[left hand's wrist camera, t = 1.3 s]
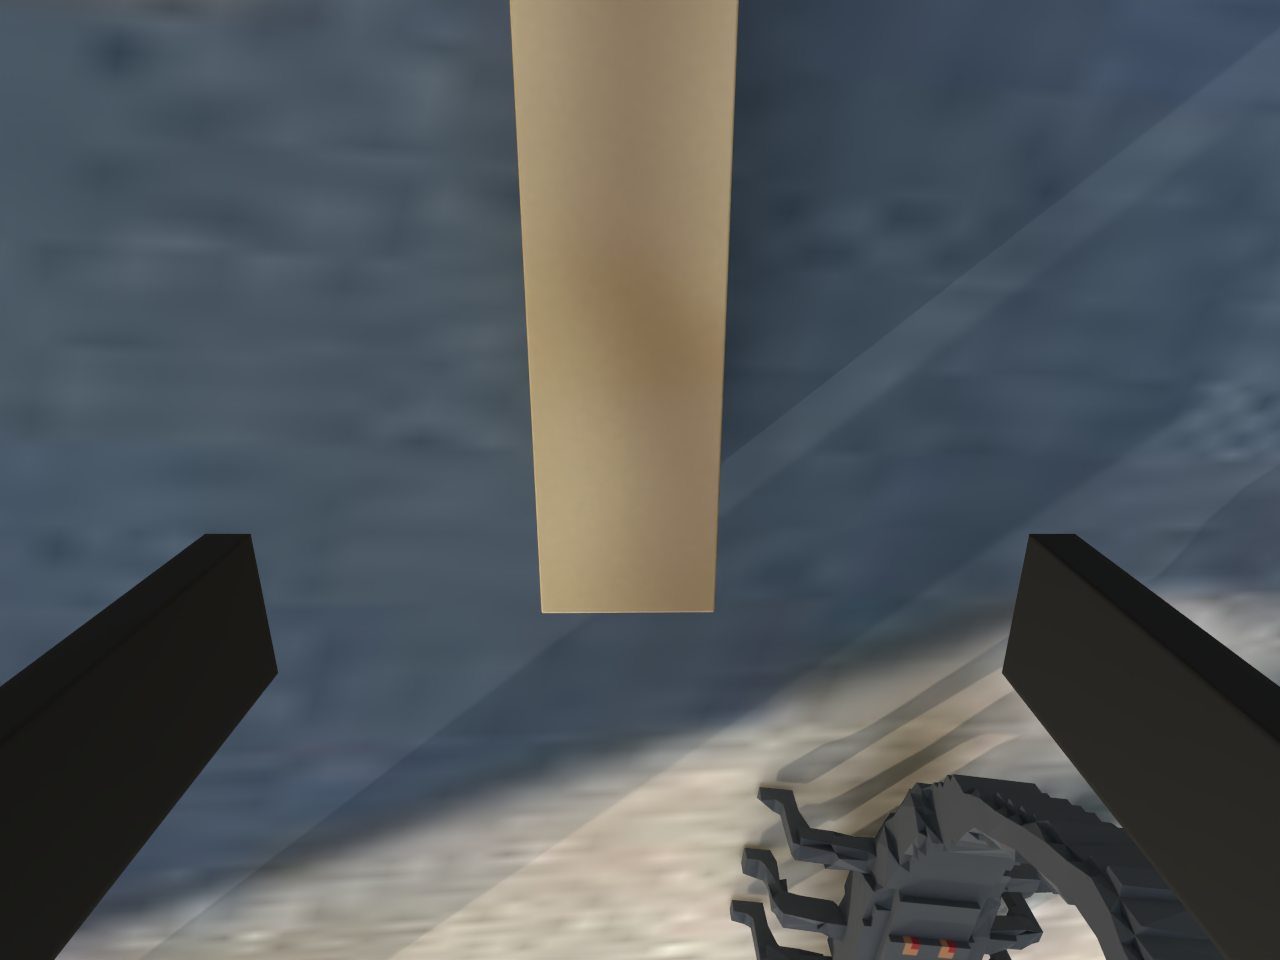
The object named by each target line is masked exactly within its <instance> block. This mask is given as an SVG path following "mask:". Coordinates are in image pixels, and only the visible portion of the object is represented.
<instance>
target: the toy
mask: <svg viewBox="0 0 1280 960" xmlns="http://www.w3.org/2000/svg"><path fill="white" fill-rule="evenodd" d="M757 798H758V799H759V800H761V801H762V802H763V803H764V804H765V805H766V806H768V807H769V808H770V809H771V810H772V811H774V812H776V813H778V814H780V815H781V819H782V822H783V826H784V830H785V833H786V837H787V840H788V844H789V847H790V851H791V854H792V856H793V857H794V859H795V860H799V861H807V862H814V863H822V864H824V866H825V869H840V870H850V872H849V875H848V878H847V880H846V883H845V895H844V897H843V899H842V901H841V903H840V905H839V907H838V906H837V905H836V904H835V903H834V902H833V901H829V900H823V899H817V898H811V897H805V896H799V895H796V894H792V893H789V892H788V891H787V882H786V879H783V880H780V879H779V873H778V867H777V861H776V860H775V858H774V856H773V855H772V853H771V851H770V850H760V849H750V848H745V849H744V853H743V857H742V861H741V864H742V870H743V873H744V874H746V875H749V876H752V877H755V878H757V879H760V880H763V881H764V883H765V885H766V886H767V888H768V890H769V897H770V904H771V911H772V912H774V913H775V915H776V916H777V918H778V920H779V921H780V923H781V925H782V927H783V928H791V929H798V930H806V931H813V932H821V933H824V934H825V935H827V936H829V937H828V944H829V948H830V951H831V955H832V957H830V956H823V954H819V953H815V952H810V951H806V950H801V949H796V948H789V947H782V946H779V945H778V944H777V943H776V941H775V939H774V937H773V935H772V933H771V931H770V929H769V927H768V924H767V920H766V916H765V911H764V907H763V903H758V902H747V901H737V900H732V902H731V906H730V914H731V920H732V921H736V922H739V923H743V924H745V925H747V926H749V927H750V928H751V931H752V936H753V941H754V947H755V952H756V957H757V960H982V958H983V955H984V954H989V955H990V959H989V960H1011V958H1010V956H1009V954H1008V952H1007V950H1006V949H1018V950H1022V949H1023V948H1025V947H1027V946H1029V945H1030V944H1033V943H1037V942H1039V940H1040V938H1041V936H1042V934H1043V931H1042V929H1041V928H1040V926H1039V924H1038V922H1037V920H1036V919H1035V917H1034V915H1033V913H1032V912H1031V910H1030V908H1029V906H1028V905H1027V903H1026V901H1025V898H1028V897H1031V896H1032V895H1033V893H1039V892H1052V893H1053V894H1059V895H1060V896H1061V897H1062V898H1063V899H1064V900H1065V901H1066V902H1067V904H1070V905H1075V906H1076V907H1077V909H1078V910H1079V911H1080V913H1081V914H1082V916H1083V917H1084V919H1085V920H1086V922H1087V923H1088V925H1089V926H1090V928H1091V929H1092V931H1093V932H1094V934H1095V935H1096V937H1097V938H1098V941H1099V943H1100V946H1101V948H1102V950H1103V953H1104V955H1105V958H1106V960H1226V959H1225V958H1224V957H1223V955H1222V954H1221V953H1220V952H1219V950H1218V949H1217V948H1216V946H1215V945H1214V944H1213V943H1212V941H1211V940H1210V939H1209V938H1208V936H1207V935H1206V934H1205V932H1204V931H1203V930H1202V929H1201V927H1200V926H1199V925H1198V923H1197V922H1196V921H1195V920H1194V918H1193V917H1192V916H1191V914H1190V913H1189V912H1188V911H1187V909H1186V908H1185V907H1184V906H1183V904H1182V903H1181V902H1180V900H1179V899H1178V898H1177V897H1176V895H1175V894H1174V893H1173V891H1172V890H1171V889H1170V888H1169V886H1168V885H1167V884H1166V882H1165V881H1164V880H1163V879H1162V877H1161V876H1160V875H1159V873H1158V872H1157V871H1156V870H1155V868H1154V867H1153V866H1152V865H1151V863H1150V862H1149V861H1148V859H1147V858H1146V857H1145V856H1144V854H1143V853H1142V852H1141V850H1140V849H1139V848H1138V847H1137V845H1136V844H1135V843H1134V841H1133V840H1132V839H1131V838H1130V836H1129V835H1128V834H1127V833H1126V831H1125V830H1124V829H1123V828H1117V827H1116V826H1115V825H1114V824H1112V823H1107V822H1101V821H1100V819H1099V818H1098V817H1097V815H1096V814H1095V813H1089V812H1085V811H1084V810H1083V808H1082V807H1081V806H1075V805H1071V803H1070V802H1069V801H1068V800H1067V799H1058V798H1050V796H1049V795H1048V794H1047V793H1041V791H1040V790H1039V789H1038V787H1037V786H1036V785H1035V784H1032V783H1024V782H1015V781H1006V780H998V779H989V778H980V777H971V776H963V775H954V774H953V775H947V777H946V780H945V782H944V783H943V782H939V783H935V782H934V783H933V784H924V783H916V784H915V785H914V787H913V788H912V789H910V790H909V791H908V793H907V795H906V797H905V799H904V801H903V802H902V804H901V805H900V807H899V809H898V810H897V812H896V813H890V814H889V816H888V817H887V819H886V820H885V822H884V823H883V825H882V827H881V828H880V830H879V832H878V834H877V835H876V837H875V838H864V837H852V836H849V835H845V834H841V833H837V832H833V831H826V830H819V829H812V828H810V827H809V826H808V824H807V823H806V821H805V820H804V818H803V817H802V815H801V814H800V812H799V811H798V808H797V804H796V801H795V798H794V795H793V791H792V790H782V789H772V788H763V787H760V788H759V792H758V796H757ZM1000 896H1002V898H1003V899H1004V901H1005V903H1006V905H1007V907H1008V909H1009V910H1008V913H1007V915H1005V916H996V914H997V912H998V909H999V906H1000Z"/></svg>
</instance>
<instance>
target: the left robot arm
mask: <svg viewBox="0 0 1280 960" xmlns="http://www.w3.org/2000/svg"><path fill="white" fill-rule="evenodd" d="M277 674H278V670H277V665H276V660H275V655H274V650H273V645H272V640H271V635H270V630H269V625H268V620H267V615H266V610H265V604H264V599H263V594H262V589H261V584H260V579H259V574H258V569H257V564H256V559H255V554H254V549H253V544H252V539H251V534H204V535H203V536H202V537H200V538H199V539H198V540H196V541H195V542H194V543H192V544H191V545H190V546H188V547H187V548H186V549H184V550H183V551H182V552H180V553H179V554H178V555H176V556H175V557H174V558H172V559H171V560H170V561H168V562H167V563H166V564H164V565H163V566H162V567H160V568H159V569H158V570H156V571H155V572H154V573H152V574H151V575H149V576H148V577H147V578H145V579H144V580H143V581H141V582H140V583H139V584H137V585H136V586H135V587H133V588H132V589H131V590H129V591H128V592H127V593H125V594H124V595H123V596H121V597H120V598H119V599H117V600H116V601H115V602H113V603H112V604H111V605H109V606H108V607H107V608H105V609H104V610H103V611H101V612H100V613H99V614H97V615H96V616H95V617H93V618H92V619H91V620H89V621H88V622H87V623H85V624H84V625H82V626H81V627H80V628H78V629H77V630H76V631H74V632H73V633H72V634H70V635H69V636H68V637H66V638H65V639H64V640H62V641H61V642H60V643H58V644H57V645H56V646H54V647H53V648H52V649H50V650H49V651H48V652H46V653H45V654H44V655H42V656H41V657H40V658H38V659H37V660H36V661H34V662H33V663H32V664H30V665H29V666H28V667H26V668H25V669H24V670H22V671H21V672H20V673H18V674H17V675H15V676H14V677H13V678H11V679H10V680H9V681H7V682H6V683H5V684H3V685H2V686H1V687H0V960H54V959H55V958H56V957H57V955H58V954H59V953H60V952H61V950H62V949H63V948H64V946H65V945H66V944H67V943H68V941H69V940H70V939H71V938H72V936H73V935H74V934H75V932H76V931H77V930H78V929H79V927H80V926H81V925H82V923H83V922H84V921H85V920H86V918H87V917H88V916H89V914H90V913H91V912H92V911H93V909H94V908H95V907H96V906H97V904H98V903H99V902H100V900H101V899H102V898H103V897H104V895H105V894H106V893H107V891H108V890H109V889H110V888H111V886H112V885H113V884H114V882H115V881H116V880H117V879H118V877H119V876H120V875H121V873H122V872H123V871H124V870H125V868H126V867H127V866H128V865H129V863H130V862H131V861H132V859H133V858H134V857H135V856H136V854H137V853H138V852H139V850H140V849H141V848H142V847H143V845H144V844H145V843H146V841H147V840H148V839H149V838H150V836H151V835H152V834H153V833H154V831H155V830H156V829H157V827H158V826H159V825H160V824H161V822H162V821H163V820H164V818H165V817H166V816H167V815H168V813H169V812H170V811H171V809H172V808H173V807H174V806H175V804H176V803H177V802H178V800H179V799H180V798H181V797H182V795H183V794H184V793H185V792H186V790H187V789H188V788H189V786H190V785H191V784H192V783H193V781H194V780H195V779H196V777H197V776H198V775H199V774H200V772H201V771H202V770H203V768H204V767H205V766H206V765H207V763H208V762H209V761H210V760H211V758H212V757H213V756H214V754H215V753H216V752H217V751H218V749H219V748H220V747H221V745H222V744H223V743H224V742H225V740H226V739H227V738H228V736H229V735H230V734H231V733H232V731H233V730H234V729H235V727H236V726H237V725H238V724H239V722H240V721H241V720H242V719H243V717H244V716H245V715H246V713H247V712H248V711H249V710H250V708H251V707H252V706H253V704H254V703H255V702H256V701H257V699H258V698H259V697H260V695H261V694H262V693H263V692H264V690H265V689H266V688H267V687H268V685H269V684H270V683H271V681H272V680H273V679H274V678H275V676H276V675H277ZM1002 674H1003V675H1004V676H1005V678H1006V679H1007V680H1008V681H1009V683H1010V684H1011V685H1012V687H1013V688H1014V689H1015V690H1016V692H1017V693H1018V694H1019V695H1020V697H1021V698H1022V699H1023V701H1024V702H1025V703H1026V704H1027V706H1028V707H1029V708H1030V710H1031V711H1032V712H1033V713H1034V715H1035V716H1036V717H1037V719H1038V720H1039V721H1040V722H1041V724H1042V725H1043V726H1044V727H1045V729H1046V730H1047V731H1048V733H1049V734H1050V735H1051V736H1052V738H1053V739H1054V740H1055V742H1056V743H1057V744H1058V745H1059V747H1060V748H1061V749H1062V751H1063V752H1064V753H1065V754H1066V756H1067V757H1068V758H1069V760H1070V761H1071V762H1072V763H1073V765H1074V766H1075V767H1076V768H1077V770H1078V771H1079V772H1080V774H1081V775H1082V776H1083V777H1084V779H1085V780H1086V781H1087V783H1088V784H1089V785H1090V786H1091V788H1092V789H1093V790H1094V792H1095V793H1096V794H1097V795H1098V797H1099V798H1100V799H1101V800H1102V802H1103V803H1104V804H1105V806H1106V807H1107V808H1108V809H1109V811H1110V812H1111V813H1112V815H1113V816H1114V817H1115V818H1116V820H1117V821H1118V822H1119V824H1120V825H1121V826H1122V827H1123V829H1124V830H1125V831H1126V833H1127V834H1128V835H1129V836H1130V838H1131V839H1132V840H1133V841H1134V843H1135V844H1136V845H1137V847H1138V848H1139V849H1140V850H1141V852H1142V853H1143V854H1144V856H1145V857H1146V858H1147V859H1148V861H1149V862H1150V863H1151V865H1152V866H1153V867H1154V868H1155V870H1156V871H1157V872H1158V873H1159V875H1160V876H1161V877H1162V879H1163V880H1164V881H1165V882H1166V884H1167V885H1168V886H1169V888H1170V889H1171V890H1172V891H1173V893H1174V894H1175V895H1176V897H1177V898H1178V899H1179V900H1180V902H1181V903H1182V904H1183V906H1184V907H1185V908H1186V909H1187V911H1188V912H1189V913H1190V914H1191V916H1192V917H1193V918H1194V920H1195V921H1196V922H1197V923H1198V925H1199V926H1200V927H1201V929H1202V930H1203V931H1204V932H1205V934H1206V935H1207V936H1208V938H1209V939H1210V940H1211V941H1212V943H1213V944H1214V945H1215V946H1216V948H1217V949H1218V950H1219V952H1220V953H1221V954H1222V955H1223V957H1224V958H1225V959H1226V960H1280V687H1279V686H1278V685H1277V684H1275V683H1274V682H1273V681H1271V680H1270V679H1269V678H1267V677H1266V676H1265V675H1263V674H1262V673H1260V672H1259V671H1258V670H1256V669H1255V668H1254V667H1252V666H1251V665H1250V664H1248V663H1247V662H1246V661H1244V660H1243V659H1242V658H1240V657H1239V656H1238V655H1236V654H1235V653H1234V652H1232V651H1231V650H1230V649H1228V648H1227V647H1226V646H1224V645H1223V644H1222V643H1220V642H1219V641H1218V640H1216V639H1215V638H1214V637H1212V636H1211V635H1210V634H1208V633H1207V632H1206V631H1204V630H1203V629H1202V628H1200V627H1199V626H1198V625H1196V624H1195V623H1193V622H1192V621H1191V620H1189V619H1188V618H1187V617H1185V616H1184V615H1183V614H1181V613H1180V612H1179V611H1177V610H1176V609H1175V608H1173V607H1172V606H1171V605H1169V604H1168V603H1167V602H1165V601H1164V600H1163V599H1161V598H1160V597H1159V596H1157V595H1156V594H1155V593H1153V592H1152V591H1151V590H1149V589H1148V588H1147V587H1145V586H1144V585H1143V584H1141V583H1140V582H1139V581H1137V580H1136V579H1135V578H1133V577H1132V576H1131V575H1129V574H1128V573H1126V572H1125V571H1124V570H1122V569H1121V568H1120V567H1118V566H1117V565H1116V564H1114V563H1113V562H1112V561H1110V560H1109V559H1108V558H1106V557H1105V556H1104V555H1102V554H1101V553H1100V552H1098V551H1097V550H1096V549H1094V548H1093V547H1092V546H1090V545H1089V544H1088V543H1086V542H1085V541H1084V540H1082V539H1081V538H1080V537H1078V536H1077V535H1076V534H1029V539H1028V544H1027V549H1026V554H1025V559H1024V564H1023V569H1022V574H1021V579H1020V584H1019V589H1018V594H1017V599H1016V604H1015V610H1014V615H1013V620H1012V625H1011V630H1010V635H1009V640H1008V645H1007V650H1006V655H1005V660H1004V665H1003V670H1002Z"/></svg>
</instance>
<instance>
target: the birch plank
mask: <svg viewBox="0 0 1280 960" xmlns="http://www.w3.org/2000/svg"><path fill="white" fill-rule="evenodd" d="M738 8H739V0H510V15H511V35H512V54H513V73H514V92H515V111H516V130H517V150H518V169H519V188H520V207H521V226H522V245H523V264H524V284H525V303H526V322H527V341H528V360H529V379H530V399H531V418H532V437H533V456H534V475H535V494H536V513H537V533H538V552H539V571H540V590H541V609H542V613H615V612H714V610H715V588H716V563H717V538H718V512H719V487H720V462H721V437H722V412H723V386H724V361H725V336H726V311H727V285H728V260H729V235H730V210H731V185H732V159H733V134H734V109H735V84H736V58H737V33H738Z"/></svg>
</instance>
